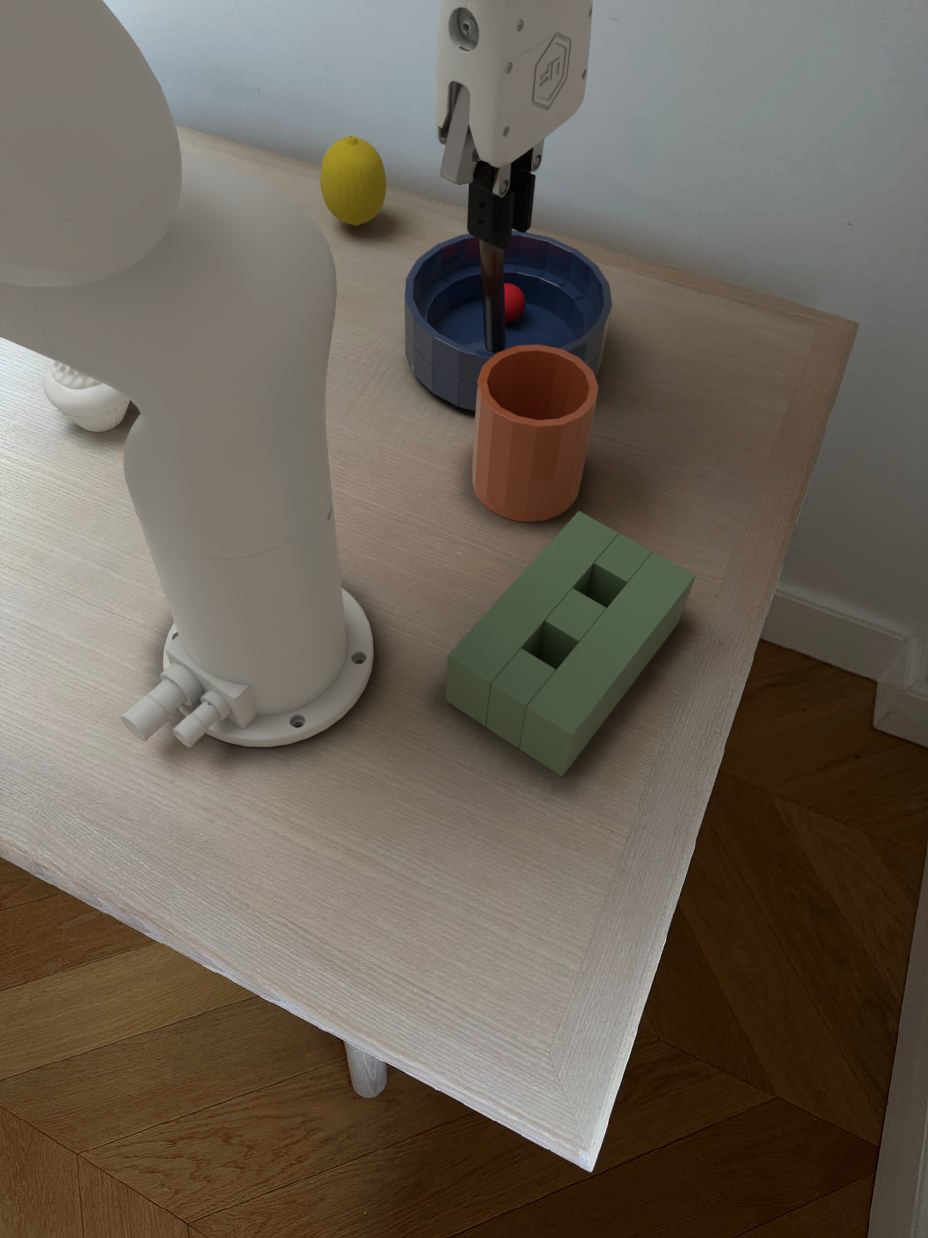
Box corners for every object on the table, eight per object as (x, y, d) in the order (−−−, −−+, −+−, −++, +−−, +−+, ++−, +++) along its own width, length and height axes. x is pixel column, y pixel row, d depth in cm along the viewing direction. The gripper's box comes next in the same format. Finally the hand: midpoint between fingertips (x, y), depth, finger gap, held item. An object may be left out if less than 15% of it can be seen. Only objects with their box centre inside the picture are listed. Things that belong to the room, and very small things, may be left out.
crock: (540, 539, 68) (555, 443, 61) (450, 488, 71) (454, 390, 63) (599, 475, 72) (620, 377, 65) (512, 428, 74) (522, 329, 67)
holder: (678, 622, 65) (696, 575, 60) (561, 777, 58) (572, 735, 54) (569, 559, 67) (578, 510, 63) (445, 701, 61) (447, 655, 56)
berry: (509, 336, 79) (512, 304, 77) (478, 320, 80) (480, 288, 78) (531, 317, 81) (534, 285, 78) (500, 302, 82) (503, 270, 79)
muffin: (48, 403, 74) (17, 325, 68) (129, 378, 76) (106, 301, 70) (71, 458, 71) (41, 381, 65) (155, 431, 73) (133, 354, 67)
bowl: (528, 453, 73) (536, 390, 68) (366, 365, 78) (362, 300, 73) (635, 345, 80) (649, 281, 75) (481, 271, 85) (484, 206, 80)
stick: (498, 361, 75) (490, 155, 62) (480, 354, 75) (469, 148, 63) (510, 350, 75) (505, 144, 63) (493, 343, 76) (484, 138, 64)
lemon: (391, 209, 90) (389, 121, 83) (382, 246, 87) (379, 158, 80) (330, 204, 90) (323, 116, 83) (318, 240, 87) (310, 152, 80)
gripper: (492, -9, 47) (476, 313, 62) (658, -110, 55) (607, 199, 70) (368, -54, 50) (381, 266, 65) (543, -146, 57) (518, 161, 72)
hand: (498, 230), depth 67 cm, fingers closed on stick, 1 cm apart
